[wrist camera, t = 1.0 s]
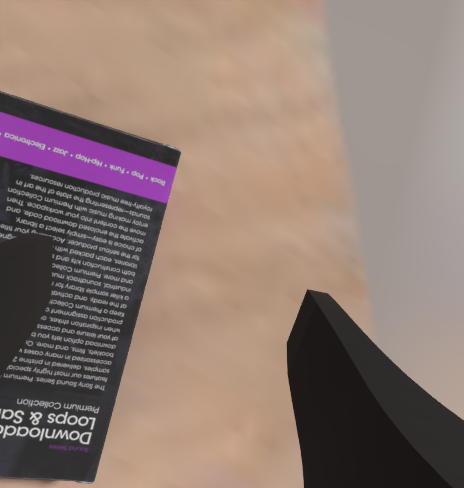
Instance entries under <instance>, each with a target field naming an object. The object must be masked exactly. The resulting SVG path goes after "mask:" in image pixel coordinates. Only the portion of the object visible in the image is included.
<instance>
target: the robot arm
mask: <svg viewBox="0 0 464 488" xmlns="http://www.w3.org/2000/svg"><path fill="white" fill-rule="evenodd" d="M52 261H53V237H50V236H46V235H41V234H36V233H31V232H30V233H26V234H23V235H20V236H17V237H14V238H12V239H9V240H6V241H4V242H1V243H0V377H1V375H2V374H3V372H4V371H5V370H6V368H7V367H8V366H9V364H10V363H11V362H12V360H13V359H14V357H15V356H16V355H17V353H18V352H19V351H20V349H21V348H22V346H23V345H24V344H25V342H26V341H27V339H28V338H29V337H30V335H31V334H32V332H33V331H34V330H35V328H36V326H37V325H38V323H39V321H40V319H41V317H42V315H43V314H44V312H45V310H46V308H47V306H48V304H49V302H50V300H51V298H52ZM287 368H288V379H289V385H290V391H291V397H292V403H293V409H294V415H295V420H296V426H297V432H298V438H299V443H300V449H301V457H302V465H303V478H304V488H464V420H462V419H461V418H460V417H458V416H457V415H456V414H454V413H453V412H451V411H450V410H449V409H447V408H446V407H445V406H443V405H442V404H441V403H440V402H438V401H437V400H436V399H434V398H433V397H432V396H431V395H430V394H428V393H427V392H426V391H425V390H423V389H422V388H421V387H420V386H419V385H418V384H417V383H415V382H414V381H413V380H412V379H411V378H410V377H408V376H407V375H406V374H405V373H404V372H403V371H402V370H401V369H400V368H399V367H398V366H396V365H395V364H394V363H393V362H392V361H391V360H390V359H389V358H388V357H387V356H386V355H385V354H384V353H383V352H382V351H381V350H380V349H379V348H378V347H377V346H376V345H375V344H374V343H373V342H372V341H371V339H370V338H369V337H368V336H367V335H366V334H365V333H364V332H363V331H362V330H361V329H360V328H359V327H358V325H357V324H356V323H355V322H354V321H353V320H352V319H351V318H350V317H349V315H348V314H347V313H346V312H345V311H344V310H343V309H342V308H341V307H340V306H339V304H338V303H337V302H336V301H335V300H334V299H333V298H332V297H331V296H330V295H329V294H328V293H323V292H318V291H313V290H308V289H307V292H306V294H305V297H304V299H303V302H302V305H301V307H300V310H299V313H298V315H297V318H296V320H295V323H294V326H293V328H292V331H291V333H290V336H289V339H288V341H287Z"/></svg>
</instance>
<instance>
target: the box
mask: <svg viewBox="0 0 464 488" xmlns="http://www.w3.org/2000/svg"><path fill="white" fill-rule="evenodd" d="M180 154H181V152H180V150H179V149H177V148H176V147H172V146H170V145H167V144H161V143H158V142H154V141H151V140H148V139H145V138H142V137H139V136H136V135H133V134H129V133H126V132H123V131H120V130H117V129H114V128H111V127H108V126H105V125H102V124H98V123H95V122H92V121H89V120H86V119H83V118H80V117H77V116H75V115H71V114H68V113H65V112H62V111H59V110H56V109H53V108H50V107H47V106H44V105H41V104H38V103H35V102H32V101H29V100H26V99H23V98H20V97H17V96H14V95H10V94H7V93H4V92H1V91H0V243H1V242H4V241H6V240H9V239H12V238H14V237H17V236H20V235H23V234H26V233H30V232H31V233H36V234H41V235H46V236H50V237H53V261H52V298H51V300H50V302H49V304H48V306H47V308H46V310H45V312H44V314H43V315H42V317H41V319H40V321H39V323H38V325H37V326H36V328H35V330H34V331H33V332H32V334H31V335H30V337H29V338H28V339H27V341H26V342H25V344H24V345H23V346H22V348H21V349H20V351H19V352H18V353H17V355H16V356H15V357H14V359H13V360H12V362H11V363H10V364H9V366H8V367H7V368H6V370H5V371H4V372H3V374H2V375H1V377H0V478H17V479H40V480H63V481H75V482H77V483H87V484H90V483H94V480H95V477H96V473H97V469H98V465H99V461H100V458H101V454H102V450H103V446H104V442H105V439H106V435H107V431H108V427H109V423H110V419H111V415H112V412H113V408H114V404H115V400H116V396H117V393H118V389H119V385H120V381H121V377H122V374H123V370H124V366H125V362H126V358H127V355H128V351H129V347H130V344H131V339H132V335H133V332H134V328H135V324H136V320H137V317H138V313H139V309H140V305H141V301H142V298H143V294H144V290H145V286H146V283H147V279H148V275H149V271H150V268H151V264H152V260H153V256H154V252H155V248H156V244H157V241H158V237H159V233H160V229H161V225H162V221H163V217H164V213H165V210H166V206H167V203H168V199H169V195H170V191H171V187H172V184H173V180H174V176H175V173H176V169H177V165H178V162H179V158H180Z"/></svg>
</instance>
